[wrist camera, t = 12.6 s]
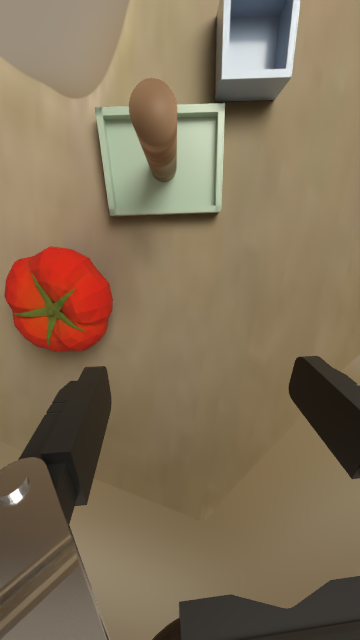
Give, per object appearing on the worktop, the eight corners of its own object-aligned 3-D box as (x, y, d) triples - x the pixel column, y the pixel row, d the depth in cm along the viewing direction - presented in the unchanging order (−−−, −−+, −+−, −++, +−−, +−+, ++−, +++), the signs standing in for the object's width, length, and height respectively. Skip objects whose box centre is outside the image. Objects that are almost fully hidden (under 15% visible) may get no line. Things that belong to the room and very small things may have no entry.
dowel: (151, 182, 31) (131, 141, 17) (149, 151, 30) (126, 78, 16) (177, 181, 31) (178, 139, 17) (176, 150, 30) (176, 77, 16)
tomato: (48, 338, 41) (10, 368, 32) (22, 246, 35) (-34, 250, 26) (125, 335, 41) (110, 365, 32) (112, 243, 35) (89, 246, 26)
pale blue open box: (214, 101, 28) (221, 79, 24) (216, 15, 26) (224, -28, 21) (274, 99, 29) (291, 77, 24) (283, 13, 26) (303, -30, 21)
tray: (113, 216, 33) (109, 215, 31) (100, 116, 29) (95, 107, 27) (218, 212, 33) (221, 211, 31) (221, 112, 29) (224, 103, 27)
